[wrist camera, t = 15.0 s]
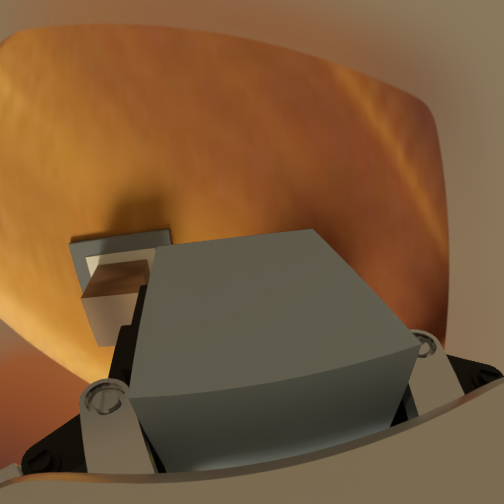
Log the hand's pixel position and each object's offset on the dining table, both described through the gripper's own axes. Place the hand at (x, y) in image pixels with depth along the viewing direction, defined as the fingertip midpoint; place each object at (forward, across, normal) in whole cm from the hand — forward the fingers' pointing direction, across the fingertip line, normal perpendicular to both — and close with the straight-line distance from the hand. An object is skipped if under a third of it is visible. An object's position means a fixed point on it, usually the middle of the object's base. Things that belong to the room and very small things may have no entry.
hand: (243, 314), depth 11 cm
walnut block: (+19, +9, +8) cm, 22 cm away
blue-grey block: (+1, 0, 0) cm, 1 cm away
